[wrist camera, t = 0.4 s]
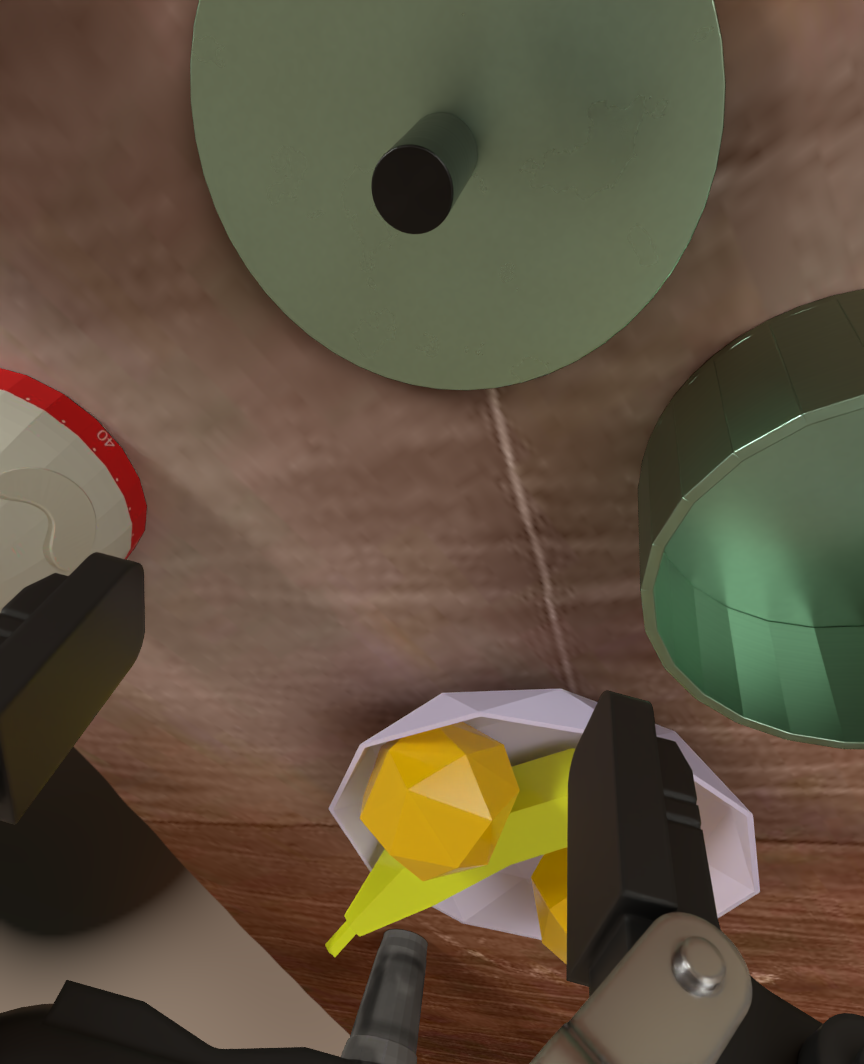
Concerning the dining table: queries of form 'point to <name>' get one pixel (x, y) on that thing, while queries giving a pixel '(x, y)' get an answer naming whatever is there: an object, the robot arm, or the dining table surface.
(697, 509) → the green open cylinder
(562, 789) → the fruit bowl
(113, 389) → the dining table surface
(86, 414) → the kitchen timer
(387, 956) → the beverage cup
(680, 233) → the lid
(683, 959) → the robot arm
